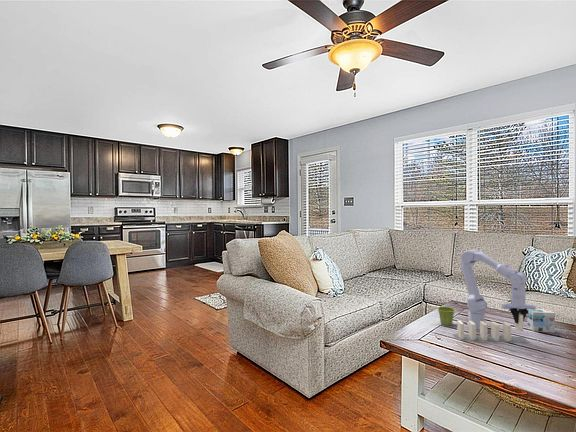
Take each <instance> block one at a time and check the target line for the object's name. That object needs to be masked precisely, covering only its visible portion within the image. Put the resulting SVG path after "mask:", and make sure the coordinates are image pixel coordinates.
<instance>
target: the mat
mask: <svg viewBox="0 0 576 432" xmlns="http://www.w3.org/2000/svg"><path fill="white" fill-rule="evenodd" d="M451 335H452V336H453V337H454V339H456V340H457V341H465V342H466V341H467V342H468V341H469V342H489V343H490V342H492V343H514V344H516V343H517V344H531V342H530V341H528V340H527V339H526V338H525V337H523V336H512V335H511V341H507V340H506V339H505V338H503V335H499V341H496V340H495V339H493V338H492V337H491V335H488V334H487V340H483V339H482V338H481V337H480V334H476V340H472V339H471V338H470V337H469V334H464V339H460V338H459V336H458V333H452V334H451Z"/></svg>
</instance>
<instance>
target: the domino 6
mask: <svg viewBox="0 0 576 432" xmlns="http://www.w3.org/2000/svg"><path fill="white" fill-rule="evenodd" d="M514 328H515V329H517V330H518V331H519V332H524V322H523V315H522V314H520V313H519V317H518V324H517V323H515V322H514Z"/></svg>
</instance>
